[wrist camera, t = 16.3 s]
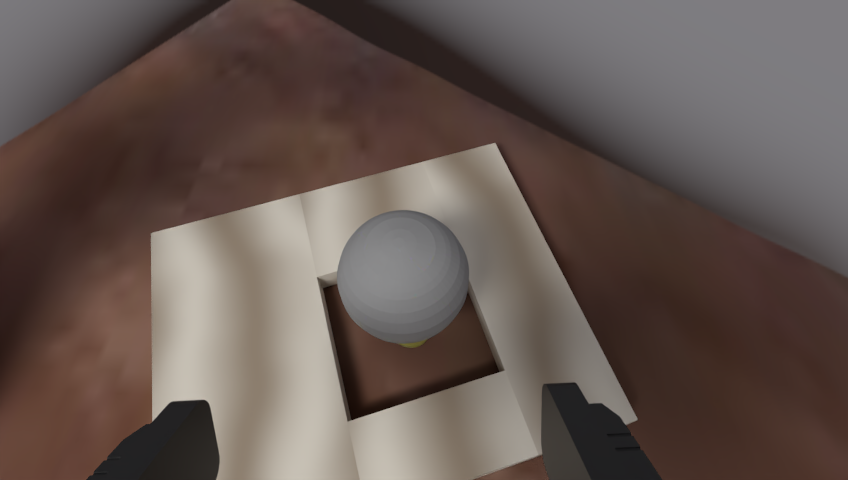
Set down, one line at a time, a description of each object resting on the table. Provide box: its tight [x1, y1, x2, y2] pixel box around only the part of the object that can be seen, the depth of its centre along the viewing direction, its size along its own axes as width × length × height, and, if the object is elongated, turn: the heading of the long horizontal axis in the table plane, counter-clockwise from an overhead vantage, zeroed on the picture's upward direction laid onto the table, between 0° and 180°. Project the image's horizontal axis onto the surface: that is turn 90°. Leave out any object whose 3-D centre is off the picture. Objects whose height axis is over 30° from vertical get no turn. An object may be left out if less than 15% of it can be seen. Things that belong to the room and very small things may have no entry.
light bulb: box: [337, 210, 469, 348], centre depth 21 cm, size 5×6×10 cm
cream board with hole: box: [151, 143, 638, 480], centre depth 25 cm, size 22×18×2 cm
